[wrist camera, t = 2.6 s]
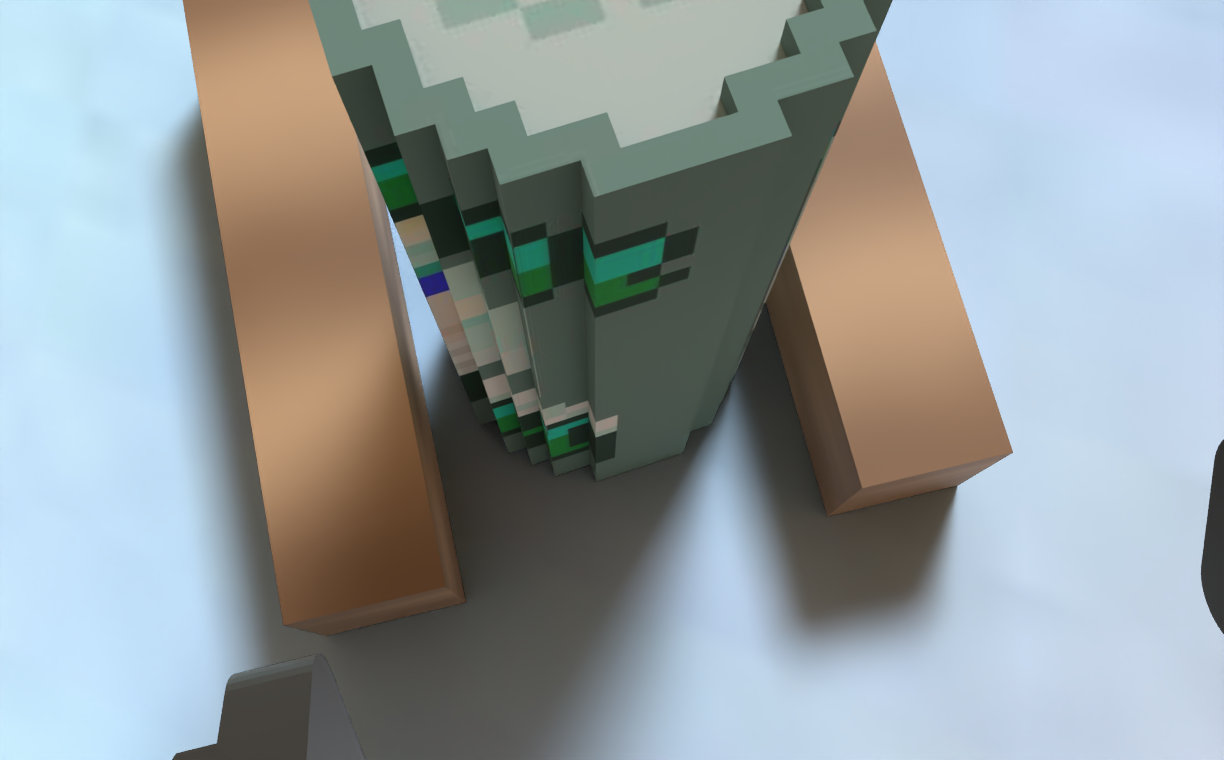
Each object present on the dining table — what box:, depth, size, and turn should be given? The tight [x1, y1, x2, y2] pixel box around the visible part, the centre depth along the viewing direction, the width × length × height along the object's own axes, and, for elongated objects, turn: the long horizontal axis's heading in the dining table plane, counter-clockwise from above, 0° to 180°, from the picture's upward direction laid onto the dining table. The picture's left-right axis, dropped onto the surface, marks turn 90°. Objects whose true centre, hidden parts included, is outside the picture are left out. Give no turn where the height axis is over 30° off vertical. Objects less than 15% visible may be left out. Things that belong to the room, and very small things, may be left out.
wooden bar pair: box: [183, 0, 1013, 636], centre depth 25 cm, size 14×14×4 cm
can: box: [308, 0, 892, 482], centre depth 19 cm, size 6×6×15 cm
